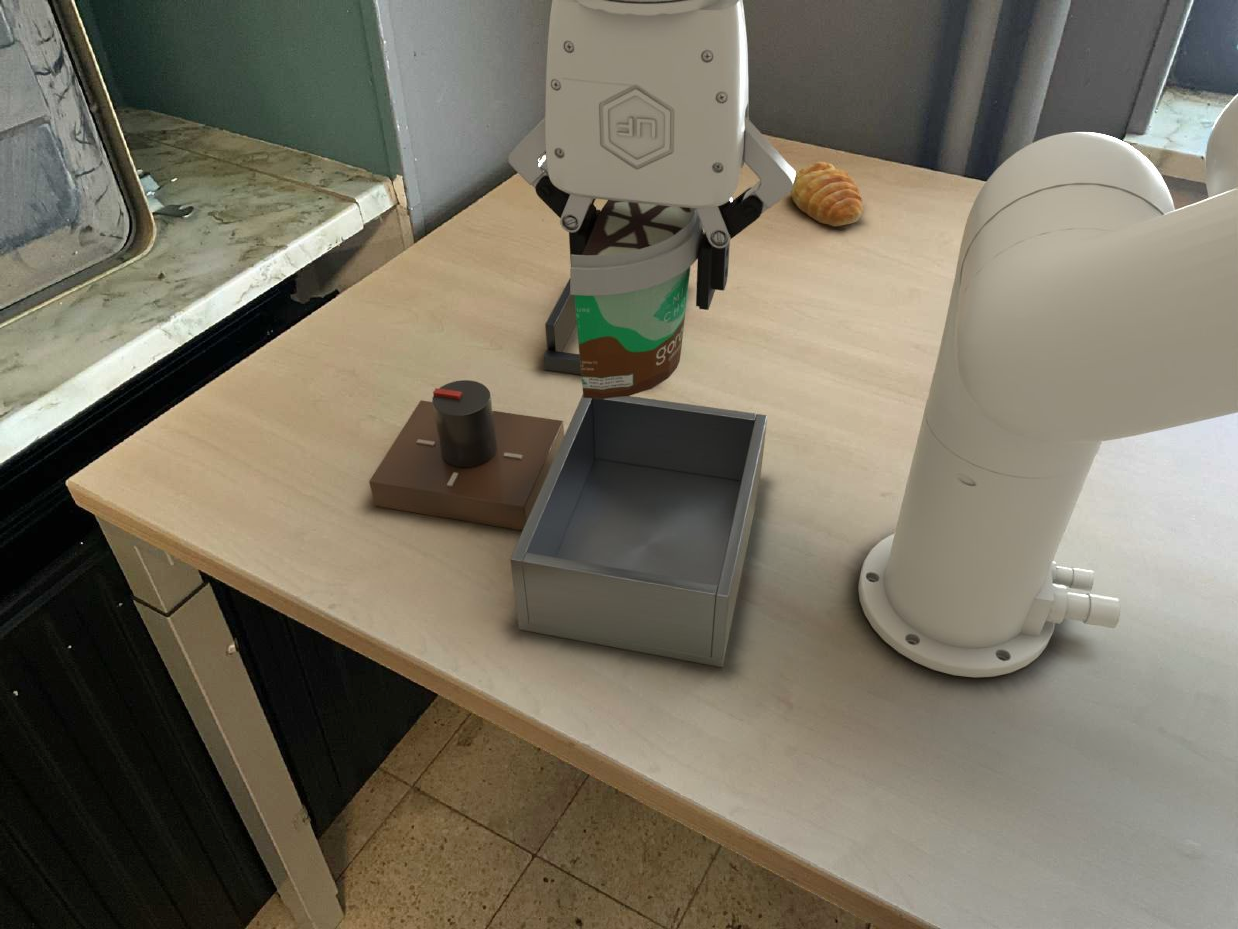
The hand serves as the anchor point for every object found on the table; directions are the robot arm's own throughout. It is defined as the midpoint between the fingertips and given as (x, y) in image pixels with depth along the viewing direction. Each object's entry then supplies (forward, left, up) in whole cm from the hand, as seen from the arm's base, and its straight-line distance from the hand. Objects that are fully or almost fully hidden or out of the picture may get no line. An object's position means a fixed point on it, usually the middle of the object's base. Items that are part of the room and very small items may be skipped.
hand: (649, 287), depth 58 cm
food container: (0, 0, -5) cm, 5 cm away
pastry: (-8, -53, -21) cm, 58 cm away
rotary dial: (+15, -3, -21) cm, 26 cm away
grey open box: (0, +2, -21) cm, 21 cm away
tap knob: (+15, -3, -18) cm, 24 cm away
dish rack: (+9, -25, -21) cm, 34 cm away
